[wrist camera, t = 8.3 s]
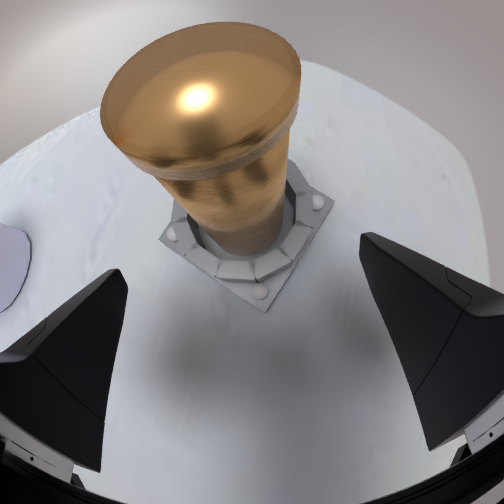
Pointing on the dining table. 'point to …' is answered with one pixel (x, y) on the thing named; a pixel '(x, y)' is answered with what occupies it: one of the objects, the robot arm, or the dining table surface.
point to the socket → (260, 265)
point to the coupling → (212, 125)
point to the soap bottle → (12, 263)
